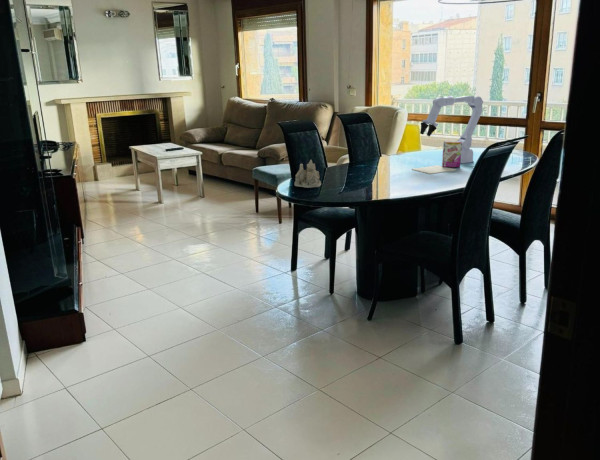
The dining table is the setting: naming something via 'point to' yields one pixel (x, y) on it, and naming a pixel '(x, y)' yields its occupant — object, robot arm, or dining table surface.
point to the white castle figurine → (307, 176)
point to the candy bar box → (451, 154)
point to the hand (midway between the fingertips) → (424, 135)
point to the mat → (433, 169)
